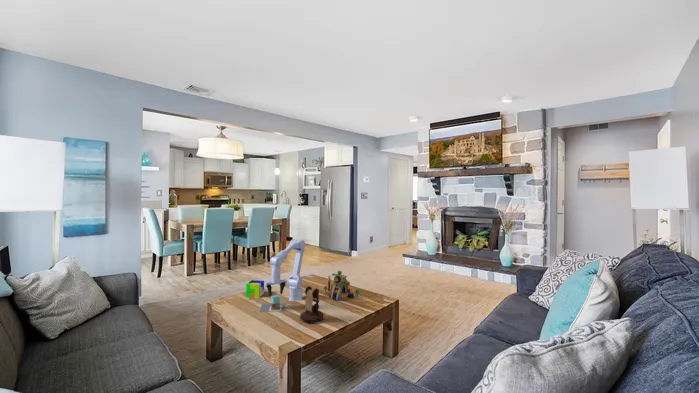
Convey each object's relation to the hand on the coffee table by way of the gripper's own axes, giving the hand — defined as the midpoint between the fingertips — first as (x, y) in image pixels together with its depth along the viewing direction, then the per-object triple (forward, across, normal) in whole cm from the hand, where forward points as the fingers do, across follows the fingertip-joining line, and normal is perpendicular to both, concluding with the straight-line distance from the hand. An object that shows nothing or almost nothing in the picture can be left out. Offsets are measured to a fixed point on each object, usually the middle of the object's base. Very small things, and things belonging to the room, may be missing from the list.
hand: (275, 294), depth 206 cm
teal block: (+5, 0, 0) cm, 5 cm away
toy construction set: (+11, -50, -3) cm, 52 cm away
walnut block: (+9, 0, 0) cm, 9 cm away
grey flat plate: (+10, +1, -3) cm, 10 cm away
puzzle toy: (+10, +4, -34) cm, 36 cm away
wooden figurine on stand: (+10, -14, +26) cm, 32 cm away
